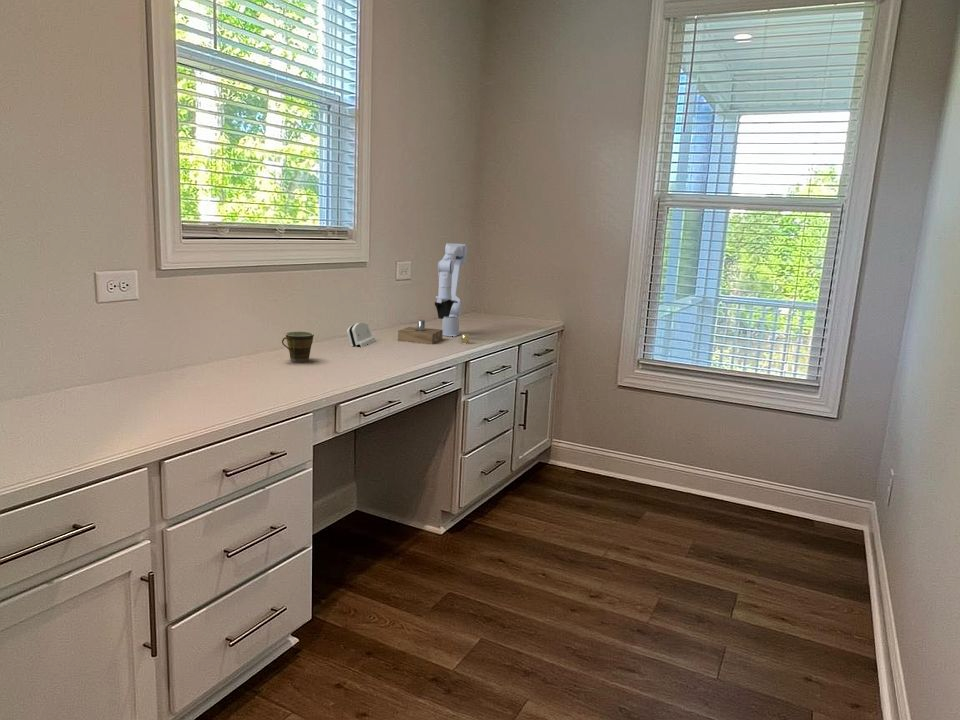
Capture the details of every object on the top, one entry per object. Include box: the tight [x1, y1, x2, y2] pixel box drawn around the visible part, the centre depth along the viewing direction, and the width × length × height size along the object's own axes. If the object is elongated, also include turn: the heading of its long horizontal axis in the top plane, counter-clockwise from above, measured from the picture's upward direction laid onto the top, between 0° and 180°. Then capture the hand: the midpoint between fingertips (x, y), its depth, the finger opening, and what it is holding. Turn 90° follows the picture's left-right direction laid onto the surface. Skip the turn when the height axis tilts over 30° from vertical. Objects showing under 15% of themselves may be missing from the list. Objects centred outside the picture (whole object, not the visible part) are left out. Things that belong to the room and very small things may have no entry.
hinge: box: [346, 322, 377, 348], centre depth 294 cm, size 17×5×10 cm, turn 168°
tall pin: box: [416, 319, 426, 331], centre depth 309 cm, size 3×3×9 cm
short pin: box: [460, 333, 470, 345], centre depth 307 cm, size 3×3×4 cm
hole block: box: [397, 326, 443, 345], centre depth 309 cm, size 14×16×4 cm
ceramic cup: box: [281, 331, 314, 363], centre depth 253 cm, size 13×10×10 cm
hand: (443, 317), depth 310 cm, fingers open, 7 cm apart
